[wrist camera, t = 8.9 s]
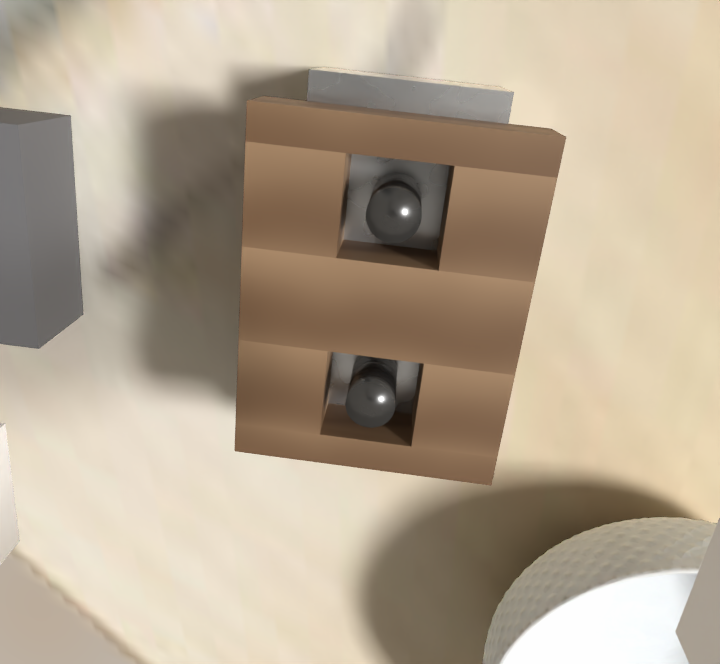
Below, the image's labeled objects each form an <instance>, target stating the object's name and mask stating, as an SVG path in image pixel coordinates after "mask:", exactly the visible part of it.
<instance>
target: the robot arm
mask: <svg viewBox="0 0 720 664" xmlns="http://www.w3.org/2000/svg"><path fill="white" fill-rule="evenodd" d="M19 541H20V538H19V530H18V522H17V514H16V506H15V498H14V490H13V482H12V474H11V466H10V458H9V450H8V442H7V434H6V426H5V423H0V565H1V563H2V562H3V561H4V560H5V559H6V557H7V556H8V555H9V554H10V552H11V551H12V550H13V549H14V548H15V546H16V545H17V544H18V543H19ZM675 632H676V635H677V637H678V639H679V641H680V644H681V646H682V648H683V651H684V653H685V655H686V657H687V660H688V662H689V664H720V518H719V520H718V523H717V525H716V528H715V530H714V533H713V536H712V538H711V541H710V543H709V546H708V548H707V551H706V554H705V556H704V559H703V561H702V564H701V566H700V569H699V572H698V574H697V577H696V579H695V582H694V585H693V587H692V590H691V592H690V595H689V597H688V600H687V603H686V605H685V608H684V610H683V613H682V615H681V618H680V621H679V623H678V626H677V628H676V631H675Z"/></svg>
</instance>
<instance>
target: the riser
mask: <svg viewBox="0 0 720 664" xmlns="http://www.w3.org/2000/svg"><path fill="white" fill-rule="evenodd" d="M82 315H83V305H82V289H81V273H80V257H79V241H78V226H77V210H76V194H75V178H74V162H73V146H72V131H71V116H70V115H61V114H53V113H44V112H35V111H27V110H18V109H10V108H1V107H0V344H6V345H14V346H22V347H29V348H37V349H39V348H40V347H42V346H43V345H44V344H46V343H47V342H48V341H49V340H51V339H52V338H53V337H55V336H56V335H57V334H58V333H60V332H61V331H62V330H64V329H65V328H66V327H68V326H69V325H70V324H71V323H73V322H74V321H75V320H77V319H78V318H79V317H80V316H82Z"/></svg>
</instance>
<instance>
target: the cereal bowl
mask: <svg viewBox="0 0 720 664" xmlns="http://www.w3.org/2000/svg"><path fill="white" fill-rule="evenodd" d="M716 525H717V523H711V522H707V521H704V520H693V519H689V518H682V517H678V518H674V517H673V518H669V517H652V518H641V519H632V520H623V521H621V522H613V523H611V524H604V525H602V526H600V527H596V528H593V529H591V530H588V531H583V532H582V533H580V534H577V535H574V536H573V537H572V538H570V539H566V540H563V541H562V542H561V543H560V544H557V545H556V546H554V547H553V548H551V549H549V550H547V551H546V552H545V554H543V555H542V556H540V557H539V558H538V559H537V560H535V561H534V562H533V563H532V564H531V565H530V566H529V567H527V568H525V569H524V571H523V572H522V574H521V575H520V576H519V577H518V578H517V579H515V581H514V582H513V583H512V585H511V587H510V588H509V589H508V590H507V591H506V592H505V595H504V597H503V599H502V601H501V602H500V603H499V604H498V606H497V609H496V612H495V614H494V615H493V618H492V622H491V625H490V628H489V630H488V635H487V640H486V643H485V646H484V656H483V664H689V662H688V660H687V657H686V655H685V653H684V651H683V648H682V646H681V644H680V641H679V639H678V637H677V635H676V632H675V631H676V628H677V626H678V623H679V621H680V618H681V615H682V613H683V610H684V608H685V605H686V603H687V600H688V597H689V595H690V592H691V590H692V587H693V585H694V582H695V579H696V577H697V574H698V572H699V569H700V566H701V564H702V561H703V559H704V556H705V554H706V551H707V548H708V546H709V543H710V541H711V538H712V536H713V533H714V530H715V528H716Z"/></svg>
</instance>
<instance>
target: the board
mask: <svg viewBox="0 0 720 664" xmlns="http://www.w3.org/2000/svg"><path fill="white" fill-rule="evenodd" d="M565 140H566V137H565V136H563V135H561V134H560V133H558V132H556V131H554V130H553V129H549V128H540V127H532V126H523V125H514V124H505V123H497V122H488V121H479V120H470V119H462V118H453V117H444V116H435V115H427V114H418V113H409V112H400V111H392V110H383V109H374V108H365V107H357V106H348V105H339V104H331V103H322V102H313V101H304V100H296V99H287V98H278V97H269V96H261V97H258V98H254V99H250V100H247V109H246V138H245V167H244V196H243V225H242V254H241V283H240V312H239V341H238V370H237V399H236V428H235V451H238V452H245V453H252V454H260V455H267V456H275V457H282V458H290V459H297V460H305V461H312V462H320V463H327V464H335V465H342V466H350V467H357V468H365V469H372V470H380V471H387V472H395V473H402V474H410V475H417V476H425V477H432V478H440V479H447V480H455V481H462V482H470V483H477V484H485V485H491V484H492V479H493V475H494V470H495V465H496V461H497V456H498V451H499V447H500V442H501V438H502V433H503V428H504V424H505V419H506V414H507V410H508V405H509V400H510V396H511V391H512V386H513V382H514V377H515V372H516V368H517V363H518V358H519V354H520V349H521V345H522V340H523V335H524V331H525V326H526V321H527V317H528V312H529V307H530V303H531V298H532V293H533V289H534V284H535V279H536V275H537V270H538V266H539V261H540V256H541V252H542V247H543V242H544V238H545V233H546V228H547V224H548V219H549V214H550V210H551V205H552V200H553V196H554V191H555V186H556V182H557V177H558V173H559V168H560V163H561V159H562V154H563V149H564V145H565ZM352 154H358V155H366V156H375V157H383V158H392V159H401V160H409V161H418V162H426V163H435V164H443V165H450V167H449V174H448V180H447V187H446V193H445V200H444V207H443V213H442V220H441V226H440V233H439V239H438V246H437V251H436V250H427V249H419V248H411V247H403V246H394V245H386V244H378V243H370V242H361V241H353V240H345V239H344V230H345V220H346V209H347V199H348V188H349V178H350V167H351V157H352ZM333 352H337V353H345V354H353V355H361V356H368V357H376V358H384V359H392V360H400V361H408V362H415V363H420V364H419V371H418V378H417V384H416V391H415V397H414V404H413V411H412V414H409V413H401V412H394V414H393V416H392V418H391V419H390V420H389V421H388V422H387V423H385V424H384V425H382V426H379V427H374V428H369V427H363V426H360V425H358V424H357V423H355V422H354V421H353V420H352V419H351V418H350V417H349V416H348V414H347V411H346V407H345V405H339V404H332V403H328V398H329V388H330V377H331V367H332V356H333Z"/></svg>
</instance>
